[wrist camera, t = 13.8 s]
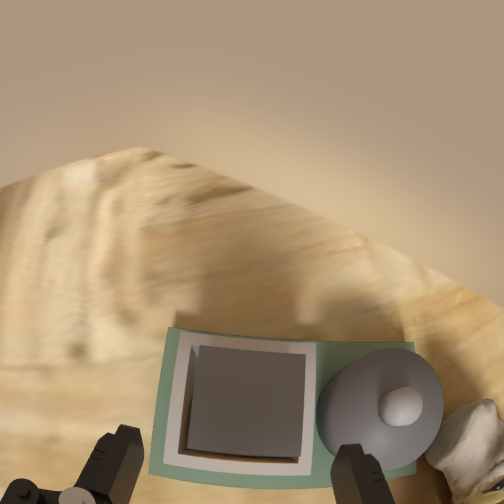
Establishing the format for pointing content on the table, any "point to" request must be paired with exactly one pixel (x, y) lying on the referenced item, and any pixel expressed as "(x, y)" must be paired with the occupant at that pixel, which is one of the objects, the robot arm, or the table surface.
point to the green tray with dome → (306, 411)
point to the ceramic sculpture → (471, 453)
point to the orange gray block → (248, 402)
